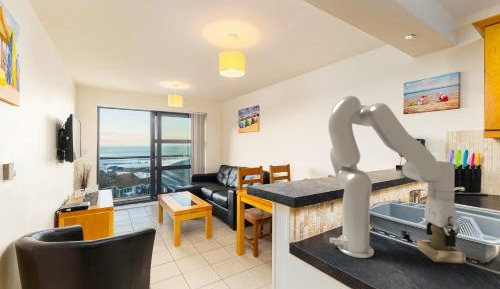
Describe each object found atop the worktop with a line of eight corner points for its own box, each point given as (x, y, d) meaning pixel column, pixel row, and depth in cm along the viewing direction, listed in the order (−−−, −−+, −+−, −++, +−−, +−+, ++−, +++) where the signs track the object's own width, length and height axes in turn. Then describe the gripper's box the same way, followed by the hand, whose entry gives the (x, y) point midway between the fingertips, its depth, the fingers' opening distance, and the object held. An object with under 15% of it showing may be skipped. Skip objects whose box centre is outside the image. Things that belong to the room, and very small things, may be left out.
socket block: (434, 261, 80) (434, 251, 80) (417, 248, 90) (417, 239, 90) (465, 263, 78) (465, 253, 78) (444, 249, 88) (444, 241, 88)
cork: (454, 259, 80) (454, 228, 80) (434, 257, 82) (435, 227, 81) (443, 251, 86) (443, 222, 86) (425, 249, 88) (426, 221, 87)
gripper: (415, 189, 93) (415, 230, 93) (446, 200, 76) (446, 250, 76) (435, 189, 92) (435, 231, 92) (471, 200, 75) (470, 252, 75)
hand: (440, 240), depth 84 cm, fingers open, 9 cm apart
